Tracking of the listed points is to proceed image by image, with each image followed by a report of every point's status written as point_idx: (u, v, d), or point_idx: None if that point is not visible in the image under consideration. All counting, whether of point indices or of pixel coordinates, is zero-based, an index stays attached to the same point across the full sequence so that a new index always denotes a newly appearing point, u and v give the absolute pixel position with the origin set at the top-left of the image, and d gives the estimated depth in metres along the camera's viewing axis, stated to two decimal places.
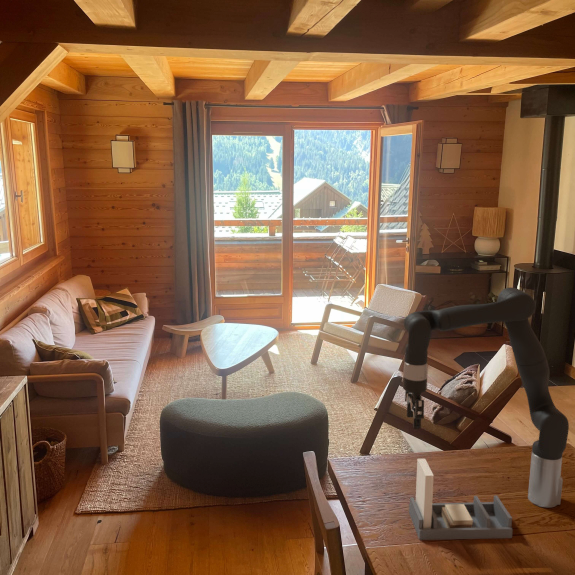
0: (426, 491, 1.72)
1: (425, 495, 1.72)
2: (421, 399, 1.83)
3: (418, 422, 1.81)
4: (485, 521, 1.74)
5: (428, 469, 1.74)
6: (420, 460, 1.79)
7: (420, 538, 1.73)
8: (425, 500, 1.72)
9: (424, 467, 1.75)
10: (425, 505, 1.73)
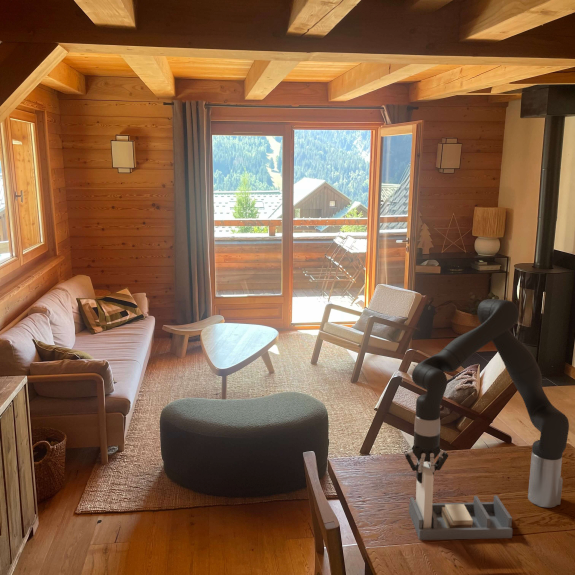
0: (426, 491, 1.72)
1: (425, 495, 1.72)
2: None
3: (433, 474, 1.76)
4: (485, 521, 1.74)
5: (428, 469, 1.74)
6: None
7: (420, 538, 1.73)
8: (425, 500, 1.72)
9: (424, 467, 1.75)
10: (425, 505, 1.73)
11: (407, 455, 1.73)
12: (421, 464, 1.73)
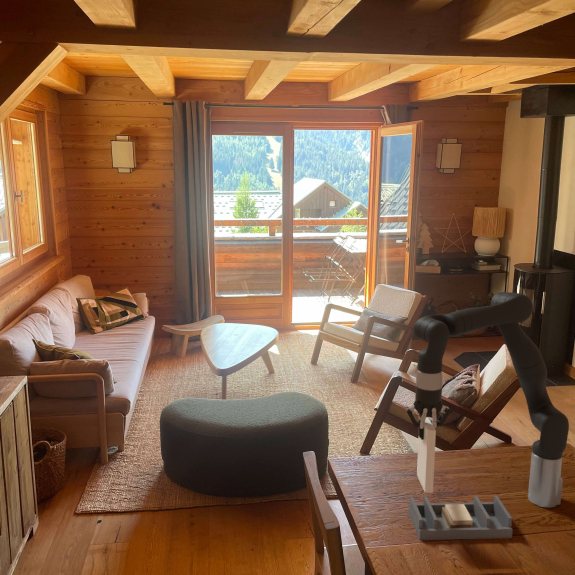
0: (428, 447, 1.68)
1: (427, 451, 1.69)
2: None
3: None
4: (485, 521, 1.74)
5: (430, 425, 1.71)
6: None
7: (420, 538, 1.73)
8: (427, 456, 1.69)
9: (426, 423, 1.72)
10: (427, 461, 1.69)
11: (409, 410, 1.70)
12: (423, 420, 1.70)
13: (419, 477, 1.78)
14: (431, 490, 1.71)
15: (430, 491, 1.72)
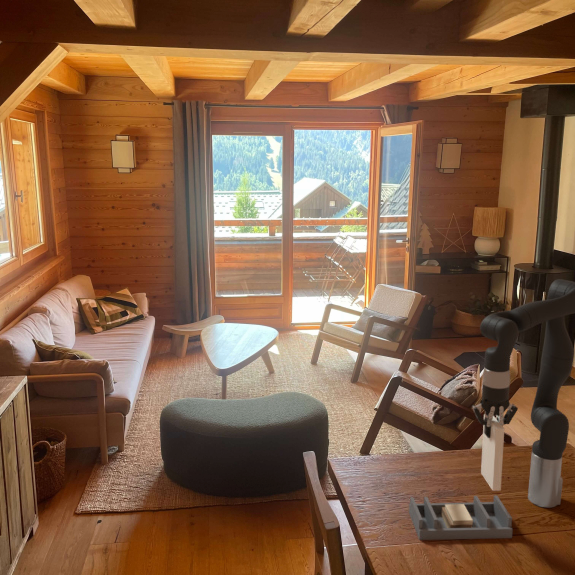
0: (496, 445, 1.69)
1: (495, 449, 1.69)
2: None
3: None
4: (485, 521, 1.74)
5: (497, 423, 1.71)
6: None
7: (420, 538, 1.73)
8: (495, 454, 1.69)
9: (493, 421, 1.72)
10: (495, 459, 1.70)
11: (476, 409, 1.70)
12: (490, 418, 1.71)
13: (484, 475, 1.78)
14: (499, 488, 1.72)
15: (498, 489, 1.72)
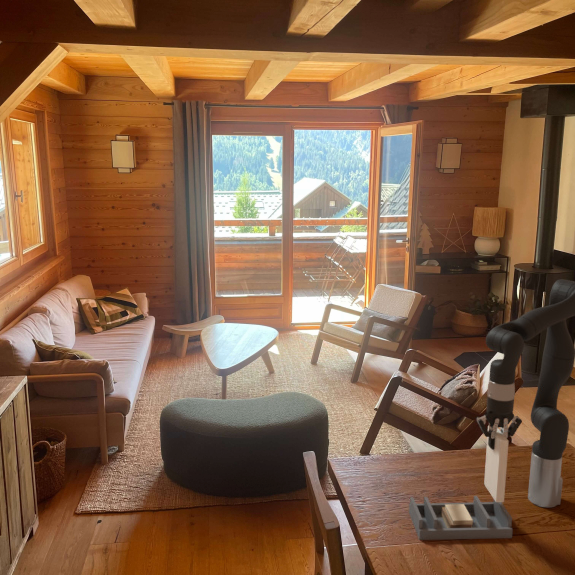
0: (500, 456, 1.70)
1: (499, 461, 1.70)
2: None
3: None
4: (485, 521, 1.74)
5: (501, 435, 1.72)
6: None
7: (420, 538, 1.73)
8: (499, 466, 1.70)
9: (497, 433, 1.73)
10: (499, 471, 1.71)
11: (480, 421, 1.71)
12: (494, 430, 1.71)
13: (487, 486, 1.79)
14: (502, 499, 1.73)
15: (501, 501, 1.73)
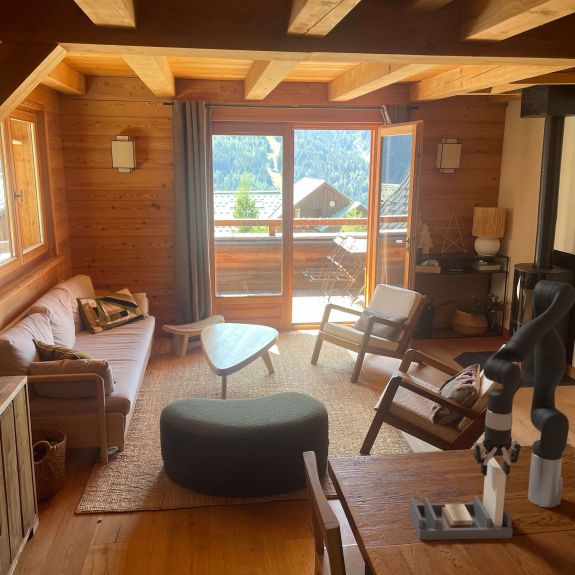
0: (498, 490, 1.72)
1: (497, 494, 1.72)
2: None
3: None
4: (485, 521, 1.74)
5: (499, 468, 1.74)
6: None
7: (420, 538, 1.73)
8: (497, 499, 1.72)
9: (494, 466, 1.75)
10: (497, 504, 1.73)
11: (478, 446, 1.73)
12: (489, 457, 1.73)
13: None
14: None
15: None
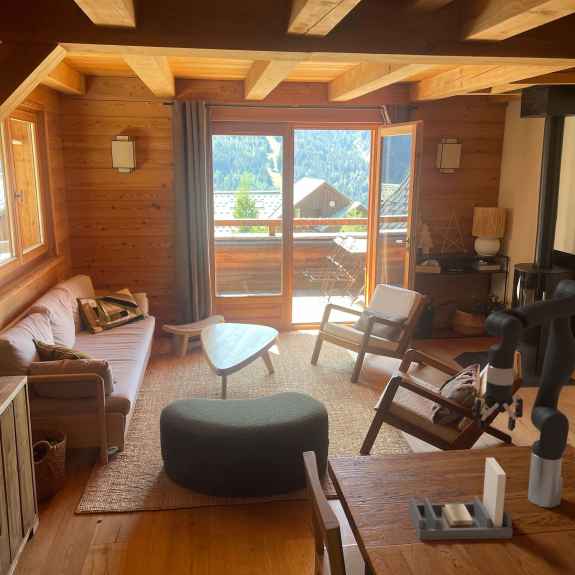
0: (498, 490, 1.72)
1: (497, 494, 1.72)
2: None
3: None
4: (485, 521, 1.74)
5: (499, 468, 1.74)
6: (489, 459, 1.79)
7: (420, 538, 1.73)
8: (497, 499, 1.72)
9: (494, 466, 1.75)
10: (497, 504, 1.73)
11: (479, 400, 1.71)
12: (489, 413, 1.71)
13: None
14: None
15: None
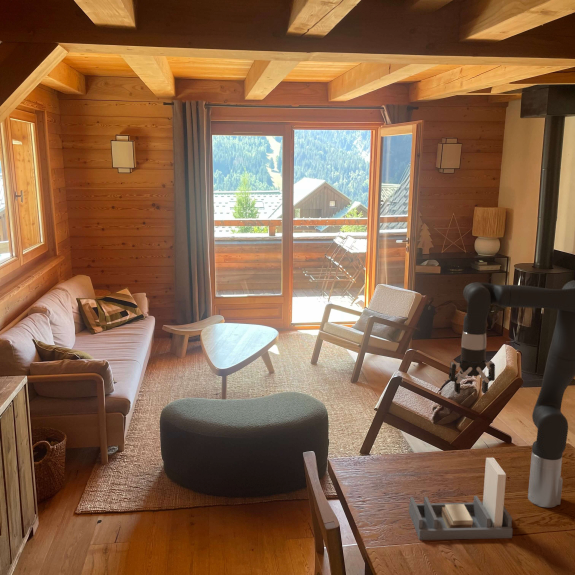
0: (498, 490, 1.72)
1: (497, 494, 1.72)
2: None
3: None
4: (485, 521, 1.74)
5: (499, 468, 1.74)
6: (489, 459, 1.79)
7: (420, 538, 1.73)
8: (497, 499, 1.72)
9: (494, 466, 1.75)
10: (497, 504, 1.73)
11: (454, 365, 1.84)
12: (463, 376, 1.85)
13: None
14: None
15: None
